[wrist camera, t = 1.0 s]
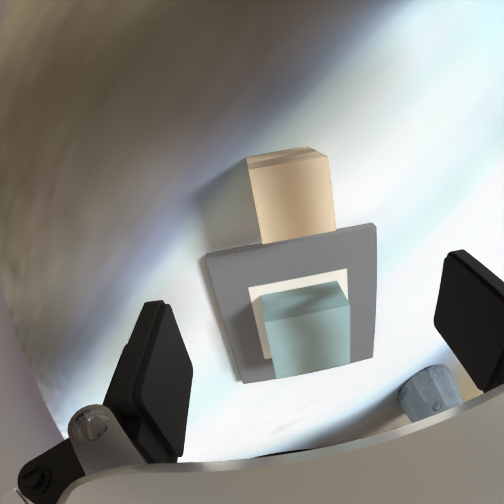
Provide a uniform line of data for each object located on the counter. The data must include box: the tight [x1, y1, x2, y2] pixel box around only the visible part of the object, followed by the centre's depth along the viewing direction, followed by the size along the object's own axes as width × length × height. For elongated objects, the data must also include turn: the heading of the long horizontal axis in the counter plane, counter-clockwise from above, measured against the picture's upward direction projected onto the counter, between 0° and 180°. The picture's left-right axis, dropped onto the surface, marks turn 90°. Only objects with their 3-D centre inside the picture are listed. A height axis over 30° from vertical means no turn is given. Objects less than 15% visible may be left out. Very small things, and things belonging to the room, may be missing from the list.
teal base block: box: [261, 280, 350, 379], centre depth 28 cm, size 7×7×4 cm
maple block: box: [246, 147, 336, 244], centre depth 22 cm, size 5×5×6 cm
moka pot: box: [399, 365, 464, 423], centre depth 29 cm, size 10×15×20 cm, turn 55°
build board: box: [205, 223, 377, 384], centre depth 30 cm, size 15×16×1 cm
